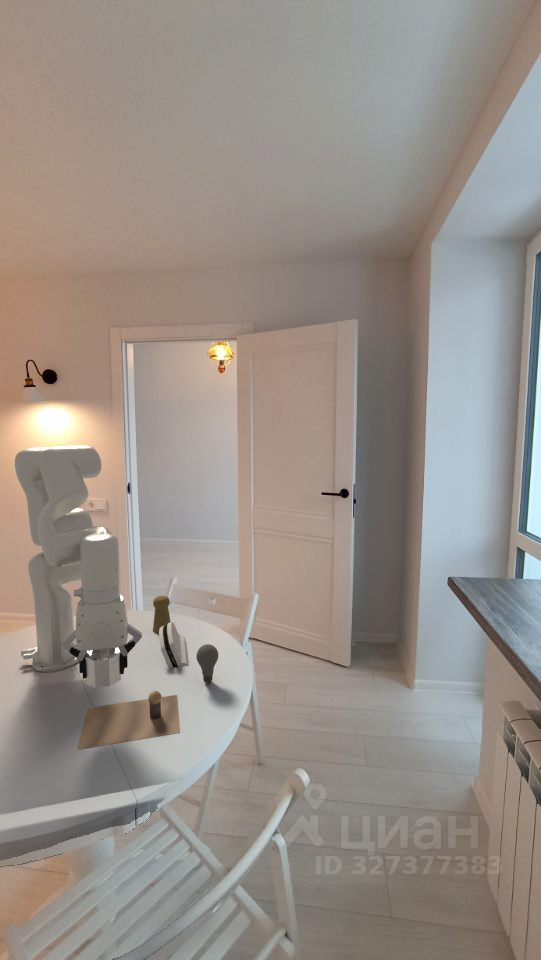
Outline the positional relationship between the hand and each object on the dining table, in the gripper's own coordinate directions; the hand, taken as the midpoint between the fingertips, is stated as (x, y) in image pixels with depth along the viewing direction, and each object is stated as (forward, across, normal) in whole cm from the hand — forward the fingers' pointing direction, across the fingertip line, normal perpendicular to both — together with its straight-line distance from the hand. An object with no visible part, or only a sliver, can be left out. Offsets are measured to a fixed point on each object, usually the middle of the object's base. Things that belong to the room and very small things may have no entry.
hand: (104, 672), depth 96 cm
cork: (+14, +12, +47) cm, 51 cm away
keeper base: (+13, +5, -1) cm, 14 cm away
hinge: (+14, +15, +28) cm, 35 cm away
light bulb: (+13, +23, +12) cm, 29 cm away
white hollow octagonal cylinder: (+1, 0, 0) cm, 1 cm away
